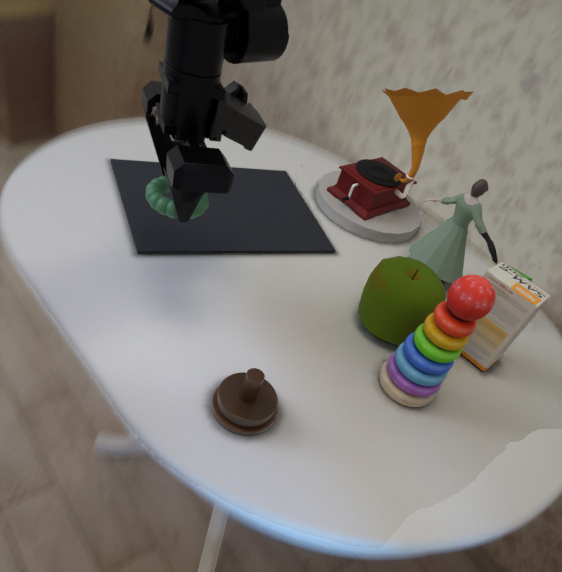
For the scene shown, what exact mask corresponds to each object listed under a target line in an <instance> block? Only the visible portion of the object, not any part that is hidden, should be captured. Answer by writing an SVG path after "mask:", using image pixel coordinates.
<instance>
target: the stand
mask: <svg viewBox="0 0 562 572" xmlns="http://www.w3.org/2000/svg"><path fill="white" fill-rule="evenodd" d="M265 378H266V376H265V372H264V371H263V370H261V369H260V368H258V367H257V368H256V367H251V368H248V369H247V370H246V372H245V371H244V372H236V373H232V374H230V375H228V376H226V377H225V378H224V379H223V380H222V381H221V382H220V384H219V385H218V387H216V389H215V390H214V391H213V392H214V393H213V395H212V399H211V405H210V406H211V411H212V415H213V417H214V418H215V420H216V421H217V422H218V424H220V426H222V427H223V428H224V429H225V430H227V431H229V432H231V433H234V434H236V435H241V436H256V435H260V434H263V433H265V432H266V431H268V430H269V429H270V428H271V427H272V425H274V422H275V420H276V418H277V416H278V401H279V400H278V399H279V398H278V393H277V392H276V390H275V388H274V386H273V385H272V384H271V383H270V382H269V381H268V380H266V379H265Z"/></svg>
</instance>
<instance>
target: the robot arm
mask: <svg viewBox="0 0 562 572" xmlns="http://www.w3.org/2000/svg"><path fill="white" fill-rule="evenodd" d="M147 1H148V3H149V4H150V5H151V6H152V7H154V8H156V9H157V10H159V11H160V12H162V13H163V14H165V15H166V16H167V19H166V20H167V21H166V31H165V43H164V55H163V61H161V60H159V61H158V69H157V72H158V75H159V77H160V79H161V81H157V80H150V81H148V83H146V84H145V85H144V86H143V87H141V88H142V89H141V106H142V110H143V111H144V118H145V122H146V125H147V127H148V131H149V134H150V138H151V141H152V144H153V147H154V151H155V153H156V154H155V155H156V157H157V160H158V161H157V162H159V164H160V167H161V171H162V174H163V176H166V178H167V182H168V185H169V189H170V192H171V196H172V199H173V203H174V207H175V210H176V214H177V217H178V220H179V222H188V221H189V219H190V218H191V216H192V214H193V212H194V210H195V209H196V207H197V205H198V203H199V201H200V200H201V198H202V197H203V195H204V194H205V193H223V194H228V193H229V192H230V191H231V189H232V184H233V179H234V173H233V171H232V169H231V167H232V166H231V165H230V163H229V161H228V159H227V157H226V156H225V154H224V153H223V152H222V150H221V149H220V148H219V147H218V148H216V147H208V146H207V144H206V141H205V140H206V139H208V140H209V141H210V142H219V143H220V142H222V136H223V137H224V138H226V139H228V140H230V141H233V142H235V143H237V144H239V145H241V146H242V147H243V149H245V150H246V151H248V152H252V151H253V150H254V148H255V147H256V144H257V143H258V142H259V140H260V138H261V137H262V135H263V133H264V132H265V130H266V128H267V123H266V122H265V120H264V119H263V117H262V115H261V113H259V111H258V110H257V109H256V108H255V107H254V106H253V104H252V103H251V102H248V99H249V93H248V91H247V89H246V88H245V86H244V85H243V84H241V83H239V82H237V81H236V80H232V81H231V82H230V83H228V84H227V85H225V86H223V83H222V82H221V80H222V73H223V68H224V67H223V66H224V61H226V62H227V63H229V64H231V65H240V64H241V65H242V64H252V63H263V62H264V63H265V62H274V61H276V60H279V59H280V58H282V56H283V55H284V53H285V51H286V50H287V47H288V45H289V40H290V33H289V22H288V17H287V12H286V11H285V9H284V7H283V5H282V1H283V0H147Z"/></svg>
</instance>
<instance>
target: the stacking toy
mask: <svg viewBox="0 0 562 572" xmlns="http://www.w3.org/2000/svg"><path fill="white" fill-rule="evenodd" d="M495 298H496V296H495V290H494V288H493V286H492V284H491V283H490V282H489V281H488V280H487V279H485V278H484V277H483V276H481V275H479V274H466V275H462V277H460V278H458V279H457V280H456V281H455V282H452V283H451V285H450V286H449V288H448V290H447V293H446V300H445V301H443V302H441V303H439V304H438V305H437V306H436V308H435V310H434V313H431V314H430V315H429V316H428V317H427V318H426V319H425V322H424V323H423V324H421V325H420V326H418V328H417V329H416V331H415V332H413V333H411V334H410V335H409V336H408V337H407V338H406V340H405V342H403V343H402V344H401V345H398V346H397V348H396V350H394V352H391V353H392V354H390V356H389V358H387V360H385V361H384V362H383V363H382V364H381V366H380V368H379V369H380V370H379V372H378V378H379V383H380V385H381V387H382V389H383V390H384V392H385V393H386V394H387V395H388V396H389V398H390V399H392V400H394V401H395V402H397V403H398V404H400V405H403V406H406V407H410V408H420V407H424V406H426V405H428V404H429V403H431V402H432V401H433V400H434V399H435V396H436V394H437V393H438V392H439V390H440V389H441V387H442V385H443V382H444V381H445V380H446V378H447V376H448V373H449V371H450V370H451V369H452V368H453V366H454V365H455V361H456V360H457V359H459V357H460V356H461V355H462V354H461V351H462V348H463V347H464V346H465V345H466V344H467V342H468V339H469V335H470V334H472V333H473V332H474V330H475V328H476V320H478V319H481V318H483V317H484V316H486V315H487V314H488V313H489V312H490V311H491V309H492V308H493V306H494V303H495Z"/></svg>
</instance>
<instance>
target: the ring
mask: <svg viewBox="0 0 562 572" xmlns="http://www.w3.org/2000/svg"><path fill="white" fill-rule="evenodd" d="M168 192H170V189H169V185H168V182H167V178H166V176H161V177H159V178H155V179H153V180H152V181H151V182H150V183H149V184H148V185H147V187H146V200H147V201H148V202H149V204H150V206H151V207H152V208H153V209H155V210H157V211H158V212H159V213H160V214H162V215H167V216H168V217H170V218H178V217H177V214H176V210H175V207H174V203H173V200H172V201H171V200H170V199H169V198H166V197H165V196H164V195H163V194H164V193H168ZM208 206H209V201H208V195H207V193H205V194H204V195H203V197H202V198H201V200H200V201H199V203H198V205H197V207H196V209H195V210H194V212H193V214H192V216H191V218H190V219H194V218H196V217H197V216H201V215H203V214H204V212H205V210H206V209H207V208H208Z"/></svg>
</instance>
